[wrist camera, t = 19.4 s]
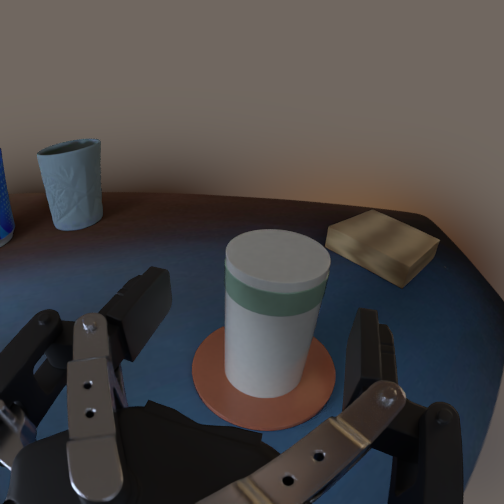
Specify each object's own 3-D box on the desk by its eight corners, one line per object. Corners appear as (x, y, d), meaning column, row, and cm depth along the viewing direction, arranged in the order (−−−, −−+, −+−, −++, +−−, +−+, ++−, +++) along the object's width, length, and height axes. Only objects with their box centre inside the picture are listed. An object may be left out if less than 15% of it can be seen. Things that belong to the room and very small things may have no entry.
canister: (302, 341, 26) (324, 233, 21) (305, 401, 20) (339, 287, 15) (229, 335, 26) (232, 225, 21) (218, 394, 20) (216, 277, 16)
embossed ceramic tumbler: (111, 205, 50) (106, 136, 44) (101, 230, 42) (92, 148, 36) (58, 210, 48) (49, 143, 42) (40, 236, 39) (26, 158, 33)
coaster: (360, 374, 23) (362, 370, 23) (257, 459, 17) (258, 457, 16) (268, 307, 30) (268, 303, 30) (166, 357, 24) (165, 353, 23)
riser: (433, 258, 41) (439, 239, 39) (402, 288, 34) (409, 266, 32) (368, 226, 49) (372, 209, 47) (324, 247, 42) (328, 226, 40)
